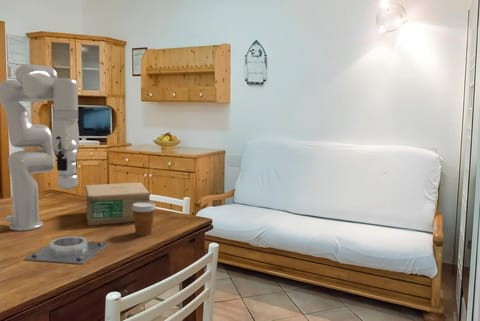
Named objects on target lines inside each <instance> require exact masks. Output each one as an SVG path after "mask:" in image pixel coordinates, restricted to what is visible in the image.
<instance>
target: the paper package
mask: <svg viewBox="0 0 480 321" xmlns="http://www.w3.org/2000/svg"><path fill="white" fill-rule="evenodd" d="M84 189H85V196H86V197H85V198H86V200H85V201H86V210H85V212H86V213H85V214H86V220H87V225H88V226H97V225H99V226H101V225H107V224H108V225H110V224H111V225H112V224H121V223H132V222H134V215H133V210H132V206H133V204H134V203H138V202H150V201H151V199H150V196H151V193H150V192H149V190H147V188H146V187H145V186H144V185H143V183H142V182H125V183H124V182H121V183H106V184H104V183H101V184H86V185H85V187H84Z"/></svg>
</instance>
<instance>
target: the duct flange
mask: <svg viewBox="0 0 480 321" xmlns="http://www.w3.org/2000/svg"><path fill="white" fill-rule="evenodd" d="M108 246H109V242H103V241H102V242H101V241H99V242H98V241H88V239H87V238H86V237H83V236H76V235H75V236H74V235H72V236H63V237H60V238H55V239H53V240H51V241H50V242H49V244H47V245H45V246H43V247H41V248H39V249H38V250H36V251H35V252H33V253H31V254H29V255H27V256H25V257H24V261H33V262H34V261H35V262H48V263H49V262H51V263H61V264H62V263H64V264H76V265H77V264H79V265H83V264H84V263H86V262H87V261H88V260H90V259H91V258H92V257H94V256H95V255H96V254H98V253H100V251H102V250H103V249H104V248H106V247H108Z"/></svg>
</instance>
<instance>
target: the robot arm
mask: <svg viewBox="0 0 480 321" xmlns="http://www.w3.org/2000/svg"><path fill="white" fill-rule="evenodd" d="M14 74H15V79H7V80H3V81H2V82H0V104H1V106H2V108H3V110H4V113H5V116H6V124H7V131H8V138H9V142H10V145H11V146H12V147H14V148H17V149H22V148H23V149H24V148H25V149H26V148H29V149H30V148H38V149H37V150H36V149H35V150H33V149H31V150H17V151H14V152H12V153H11V154H10V155H9V156H8V158H7V161H8V162H7V163H8V169H9V173H10V178H11V198H12V201H11V202H12V215H7V216H6V217H5V219H4V221H5V222H10V224H9V226H8V228H9V230H12V231H30V230H31V231H32V230H36V229H39V228H42V227H43V225H44V221H42V220H40V213H39V211H40V210H39V184H38V182H37V181H36V179H34V177H33V176H32V175H33V174H42V173H50V172H53V170H54V169H55V167H56V169H57V171H58V172H59V171H67V159H65V158H66V151H67V150H68V149H69V146H70V143H71V142H72V141H73V140H74V141H75V142H76V143H77V145H78V149H77V153H78V151H79V148H80V146H81V145H80V132H79V131H80V130H79V124H78V123H79V122H78V121H79V96H78V94H79V93H78V89H79V88H78V86H79V85H78V82H77V80H75V79H73V78H66V77H65V78H63V77H62V78H61V77H60V78H59V77H58V73H57V71H56V70H55V69H54V68H53V67H52V66H49V65H42V64H41V65H40V64H21V65H20V66H18V67H17V68H16V70H15V72H14ZM45 101H53V123H52V129H50V128H49V127H48V126H47V125H45V124H32V122H31V115H30V112H29V111H28V109H27V108H26V107H25V106H24V105H23V104H22V103H20V102H23V103H24V102H25V103H26V102H29V103H31V102H32V103H43V102H45ZM59 147H63V149H59ZM61 151H62V152H63V154H62V152H61ZM77 158H78V157H76V169H77V167H78V159H77Z"/></svg>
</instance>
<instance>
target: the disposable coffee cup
mask: <svg viewBox="0 0 480 321" xmlns="http://www.w3.org/2000/svg"><path fill="white" fill-rule="evenodd" d="M156 208H157V206H156V203H154V202H152V201H151V202H138V203H134V204H133V206H132V210H133V215H134V221H133V222H134V229H135V234H136V235H137V236H149V235H152V233H153V226H154V218H155V211H156Z"/></svg>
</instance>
